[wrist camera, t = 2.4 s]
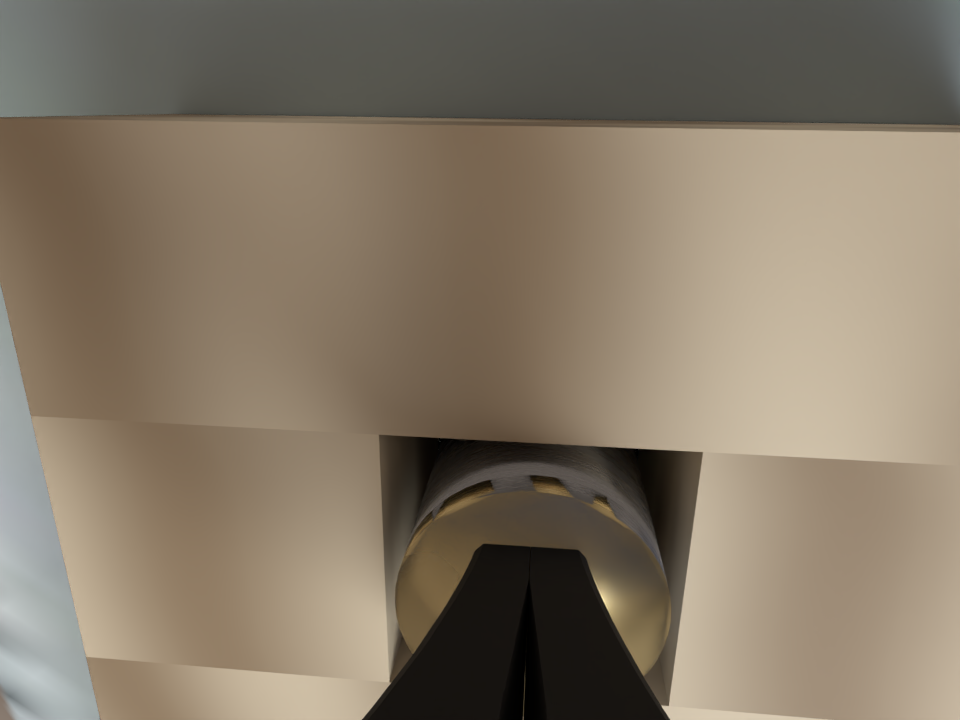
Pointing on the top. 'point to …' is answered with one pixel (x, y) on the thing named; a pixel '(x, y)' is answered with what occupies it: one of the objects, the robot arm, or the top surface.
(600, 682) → the robot arm
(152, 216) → the twin-bore block
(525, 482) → the peg
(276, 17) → the top surface
